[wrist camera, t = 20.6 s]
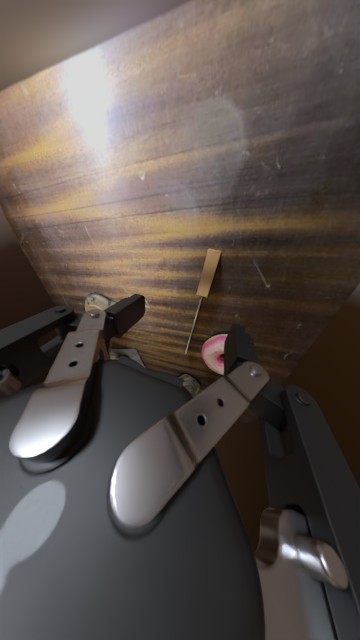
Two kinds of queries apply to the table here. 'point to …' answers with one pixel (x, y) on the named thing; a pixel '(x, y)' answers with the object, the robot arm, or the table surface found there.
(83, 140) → the table surface
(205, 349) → the donut
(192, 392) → the seashell
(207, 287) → the knife
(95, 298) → the decorative bowl
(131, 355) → the stuffed giraffe
